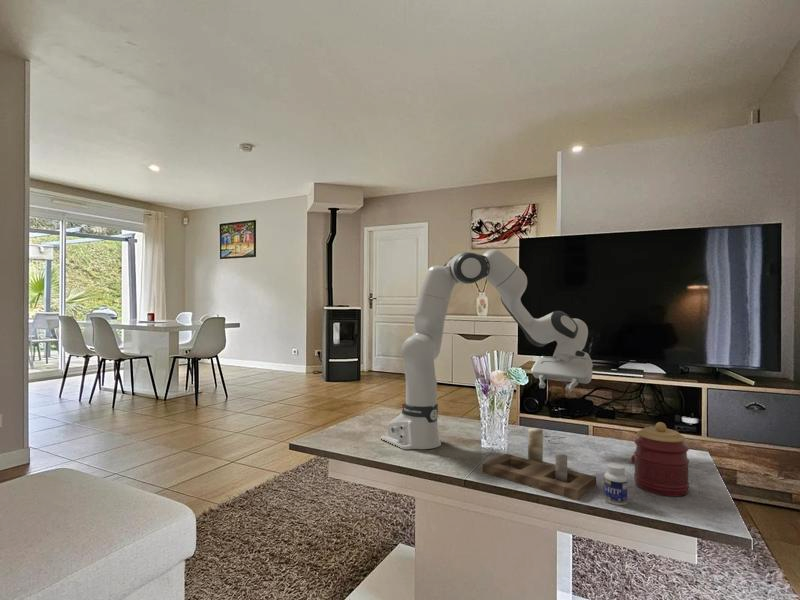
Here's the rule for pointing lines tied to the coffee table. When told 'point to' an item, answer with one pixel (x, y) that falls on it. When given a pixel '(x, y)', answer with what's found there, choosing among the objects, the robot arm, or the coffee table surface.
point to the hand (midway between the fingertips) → (554, 388)
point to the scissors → (553, 440)
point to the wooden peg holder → (542, 475)
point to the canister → (661, 461)
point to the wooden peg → (535, 445)
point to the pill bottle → (615, 484)
